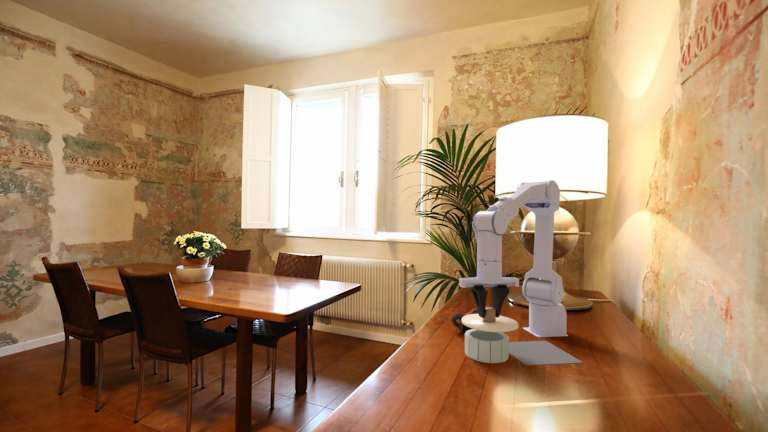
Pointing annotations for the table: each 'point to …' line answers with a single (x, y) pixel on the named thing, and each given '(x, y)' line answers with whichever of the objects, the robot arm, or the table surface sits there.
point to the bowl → (487, 346)
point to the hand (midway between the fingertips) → (488, 316)
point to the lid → (490, 322)
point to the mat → (540, 353)
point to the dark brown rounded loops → (459, 316)
